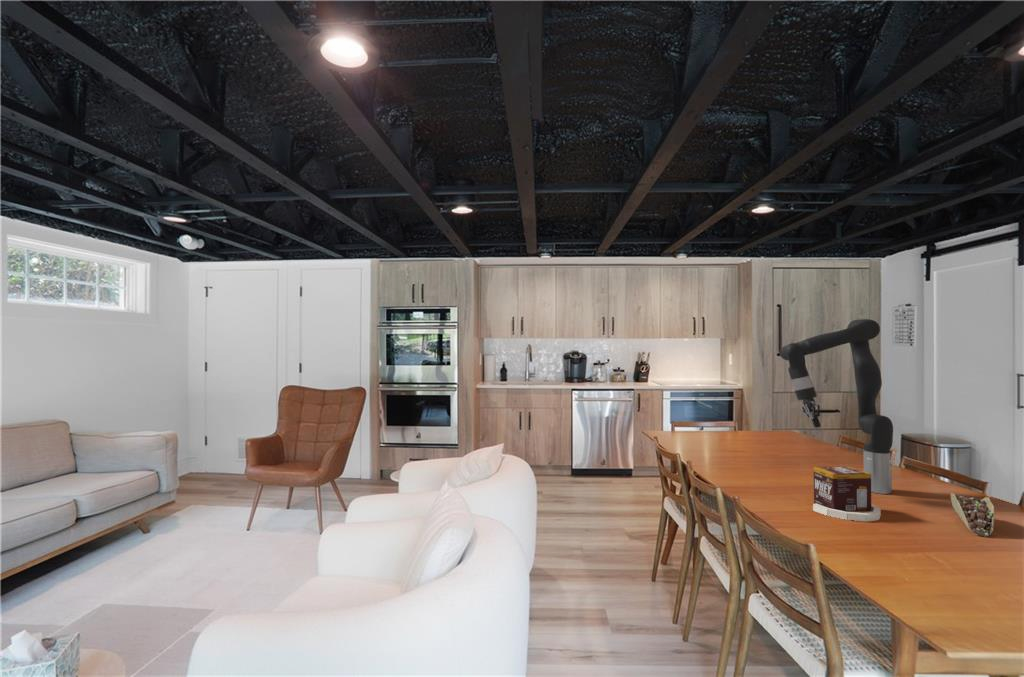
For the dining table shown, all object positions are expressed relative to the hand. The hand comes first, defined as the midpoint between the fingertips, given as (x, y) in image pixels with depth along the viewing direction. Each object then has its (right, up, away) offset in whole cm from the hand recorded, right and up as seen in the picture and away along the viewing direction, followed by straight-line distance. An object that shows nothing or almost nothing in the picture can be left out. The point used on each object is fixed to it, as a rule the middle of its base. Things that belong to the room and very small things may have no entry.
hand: (817, 427), depth 201 cm
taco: (+31, -28, -35) cm, 55 cm away
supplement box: (-5, -28, -22) cm, 36 cm away
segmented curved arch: (-3, -28, -26) cm, 38 cm away
